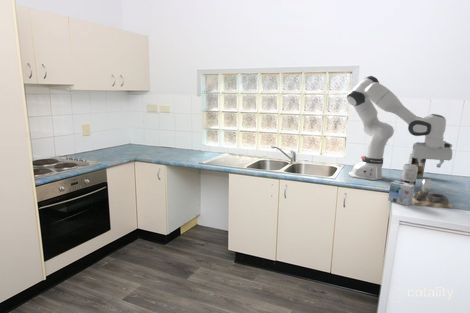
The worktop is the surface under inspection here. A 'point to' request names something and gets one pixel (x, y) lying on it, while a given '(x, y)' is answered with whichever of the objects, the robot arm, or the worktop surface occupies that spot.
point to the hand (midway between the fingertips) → (429, 166)
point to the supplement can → (409, 174)
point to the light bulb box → (401, 192)
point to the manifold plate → (431, 200)
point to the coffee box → (420, 168)
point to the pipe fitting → (426, 186)
